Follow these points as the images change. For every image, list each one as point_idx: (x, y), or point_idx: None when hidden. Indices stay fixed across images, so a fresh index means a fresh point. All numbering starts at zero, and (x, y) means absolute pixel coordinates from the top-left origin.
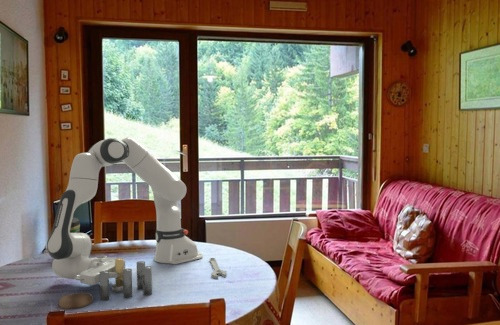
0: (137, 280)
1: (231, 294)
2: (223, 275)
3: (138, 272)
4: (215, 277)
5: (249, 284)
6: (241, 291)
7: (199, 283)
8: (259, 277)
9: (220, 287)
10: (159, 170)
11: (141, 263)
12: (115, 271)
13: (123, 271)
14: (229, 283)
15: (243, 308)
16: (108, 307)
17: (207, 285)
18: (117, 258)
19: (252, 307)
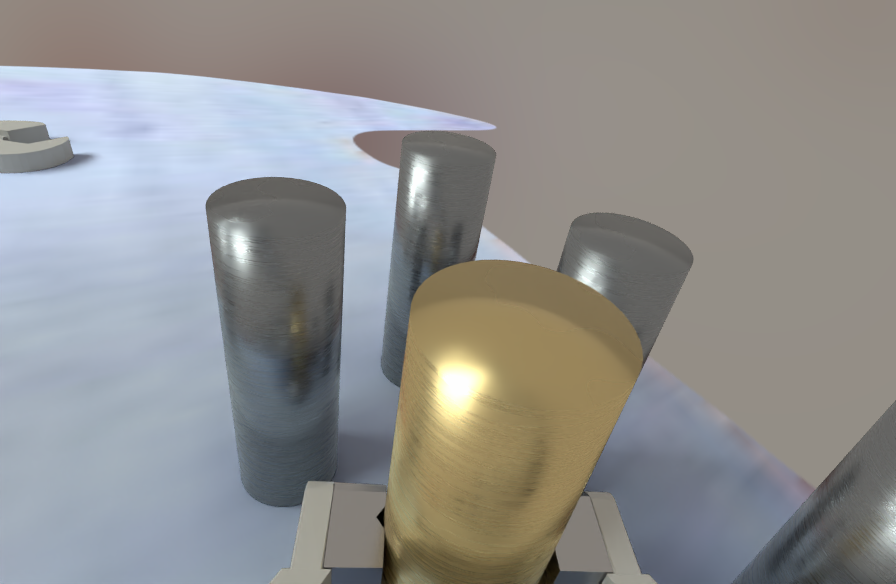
0: (330, 416)
1: (310, 128)
2: (39, 134)
3: (340, 321)
4: (67, 153)
5: (183, 100)
6: (271, 113)
7: (159, 197)
8: (86, 83)
9: (227, 146)
10: None
11: (320, 193)
12: (545, 567)
13: (690, 260)
14: (166, 130)
15: (425, 115)
16: (800, 506)
17: (197, 174)
18: (486, 383)
19: (408, 105)
